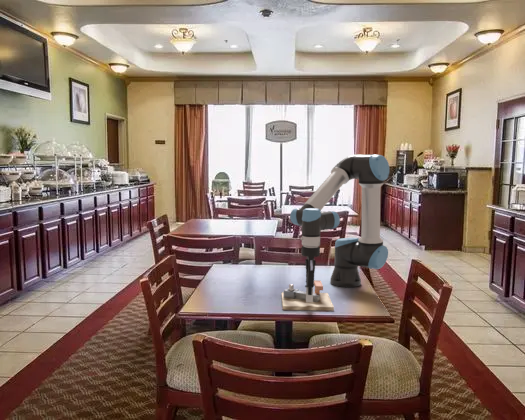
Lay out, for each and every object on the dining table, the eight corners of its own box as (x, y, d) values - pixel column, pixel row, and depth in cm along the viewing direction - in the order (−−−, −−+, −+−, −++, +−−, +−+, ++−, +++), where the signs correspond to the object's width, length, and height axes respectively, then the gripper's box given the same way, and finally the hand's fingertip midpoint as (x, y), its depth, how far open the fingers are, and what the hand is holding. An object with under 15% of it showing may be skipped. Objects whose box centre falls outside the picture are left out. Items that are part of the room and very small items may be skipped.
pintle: (296, 295, 207) (296, 283, 206) (296, 298, 202) (297, 286, 201) (285, 295, 207) (285, 283, 206) (285, 298, 202) (286, 286, 201)
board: (327, 296, 211) (327, 292, 211) (333, 310, 191) (333, 307, 191) (281, 295, 211) (281, 292, 211) (282, 309, 192) (282, 306, 191)
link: (283, 297, 203) (283, 290, 203) (288, 294, 208) (288, 287, 207) (316, 302, 196) (316, 296, 196) (320, 299, 200) (321, 293, 200)
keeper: (320, 293, 210) (320, 280, 209) (322, 299, 201) (323, 286, 200) (313, 293, 210) (313, 280, 209) (315, 299, 201) (316, 286, 200)
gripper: (300, 242, 197) (299, 296, 200) (302, 248, 184) (301, 306, 187) (318, 243, 197) (316, 297, 200) (321, 249, 184) (320, 306, 187)
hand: (309, 301), depth 193 cm, fingers closed
